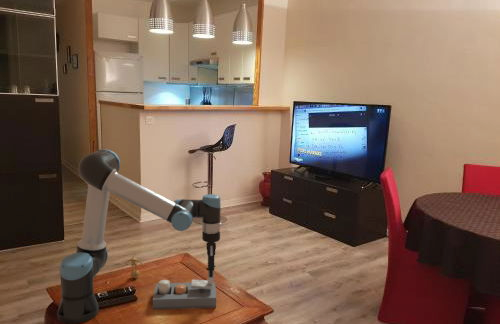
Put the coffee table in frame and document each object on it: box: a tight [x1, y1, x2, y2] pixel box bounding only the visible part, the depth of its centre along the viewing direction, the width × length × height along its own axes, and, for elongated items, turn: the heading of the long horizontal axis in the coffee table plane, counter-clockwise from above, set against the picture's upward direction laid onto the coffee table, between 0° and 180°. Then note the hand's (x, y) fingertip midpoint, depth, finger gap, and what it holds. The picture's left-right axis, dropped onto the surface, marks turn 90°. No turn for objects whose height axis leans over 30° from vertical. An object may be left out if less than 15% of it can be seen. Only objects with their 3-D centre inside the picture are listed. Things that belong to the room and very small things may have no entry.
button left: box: [158, 279, 171, 295], centre depth 170 cm, size 5×5×4 cm
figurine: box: [125, 255, 144, 279], centre depth 188 cm, size 8×6×12 cm
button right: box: [175, 284, 186, 294], centre depth 171 cm, size 5×5×4 cm
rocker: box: [190, 279, 213, 290], centre depth 172 cm, size 9×6×2 cm, turn 97°
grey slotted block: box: [152, 281, 217, 311], centre depth 172 cm, size 26×14×6 cm, turn 97°
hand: (210, 282), depth 172 cm, fingers closed
